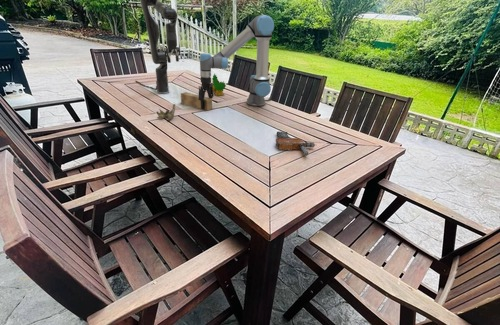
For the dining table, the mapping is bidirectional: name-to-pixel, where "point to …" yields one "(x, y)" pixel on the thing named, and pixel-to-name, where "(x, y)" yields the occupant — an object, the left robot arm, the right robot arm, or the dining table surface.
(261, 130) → the dining table surface
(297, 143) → the tool
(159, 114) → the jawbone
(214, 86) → the ornament
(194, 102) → the bar
